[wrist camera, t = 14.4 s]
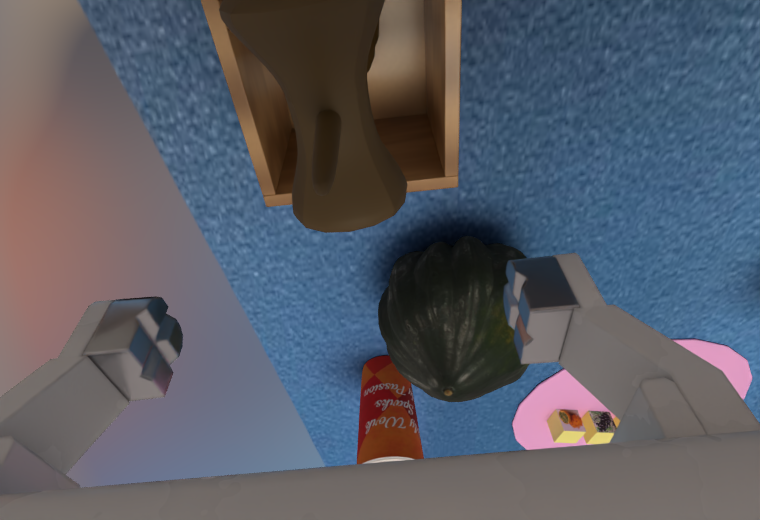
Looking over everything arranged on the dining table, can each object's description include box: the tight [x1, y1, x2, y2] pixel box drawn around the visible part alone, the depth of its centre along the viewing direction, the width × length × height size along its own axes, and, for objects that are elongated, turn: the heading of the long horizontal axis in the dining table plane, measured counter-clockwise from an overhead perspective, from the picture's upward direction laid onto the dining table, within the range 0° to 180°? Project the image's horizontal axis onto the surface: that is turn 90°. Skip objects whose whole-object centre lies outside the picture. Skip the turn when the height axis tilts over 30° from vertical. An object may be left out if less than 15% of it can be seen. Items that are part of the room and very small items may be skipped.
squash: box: [378, 236, 529, 402], centre depth 40 cm, size 14×15×15 cm
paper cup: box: [357, 355, 424, 464], centre depth 50 cm, size 8×8×14 cm
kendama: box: [219, 0, 407, 233], centre depth 21 cm, size 6×10×20 cm, turn 8°
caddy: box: [201, 0, 462, 207], centre depth 26 cm, size 15×12×10 cm
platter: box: [512, 339, 752, 450], centre depth 63 cm, size 32×32×3 cm
